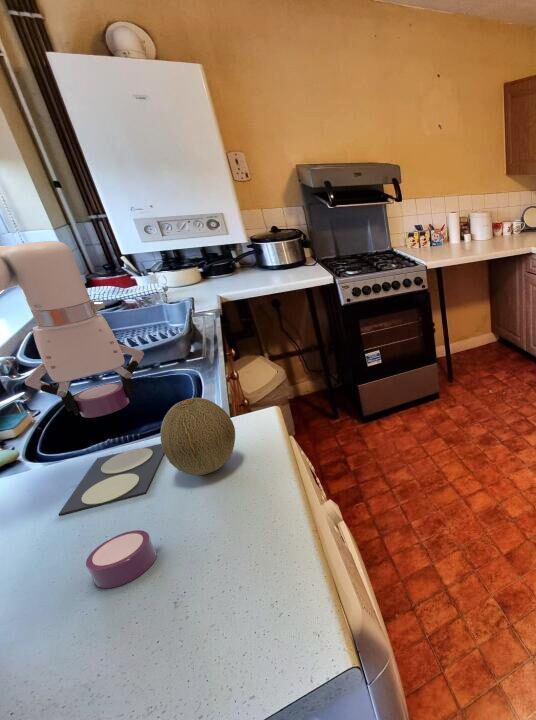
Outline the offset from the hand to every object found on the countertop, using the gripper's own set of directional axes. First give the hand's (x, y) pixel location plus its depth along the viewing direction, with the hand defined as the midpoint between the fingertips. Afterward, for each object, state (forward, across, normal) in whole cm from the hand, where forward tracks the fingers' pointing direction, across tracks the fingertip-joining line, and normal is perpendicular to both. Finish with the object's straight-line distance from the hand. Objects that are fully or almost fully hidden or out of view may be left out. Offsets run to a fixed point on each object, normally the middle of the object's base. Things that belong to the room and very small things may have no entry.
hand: (103, 403), depth 82 cm
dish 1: (+1, 0, 0) cm, 1 cm away
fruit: (+14, -10, +15) cm, 23 cm away
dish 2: (+14, +5, +31) cm, 35 cm away
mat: (+14, +2, +4) cm, 14 cm away
